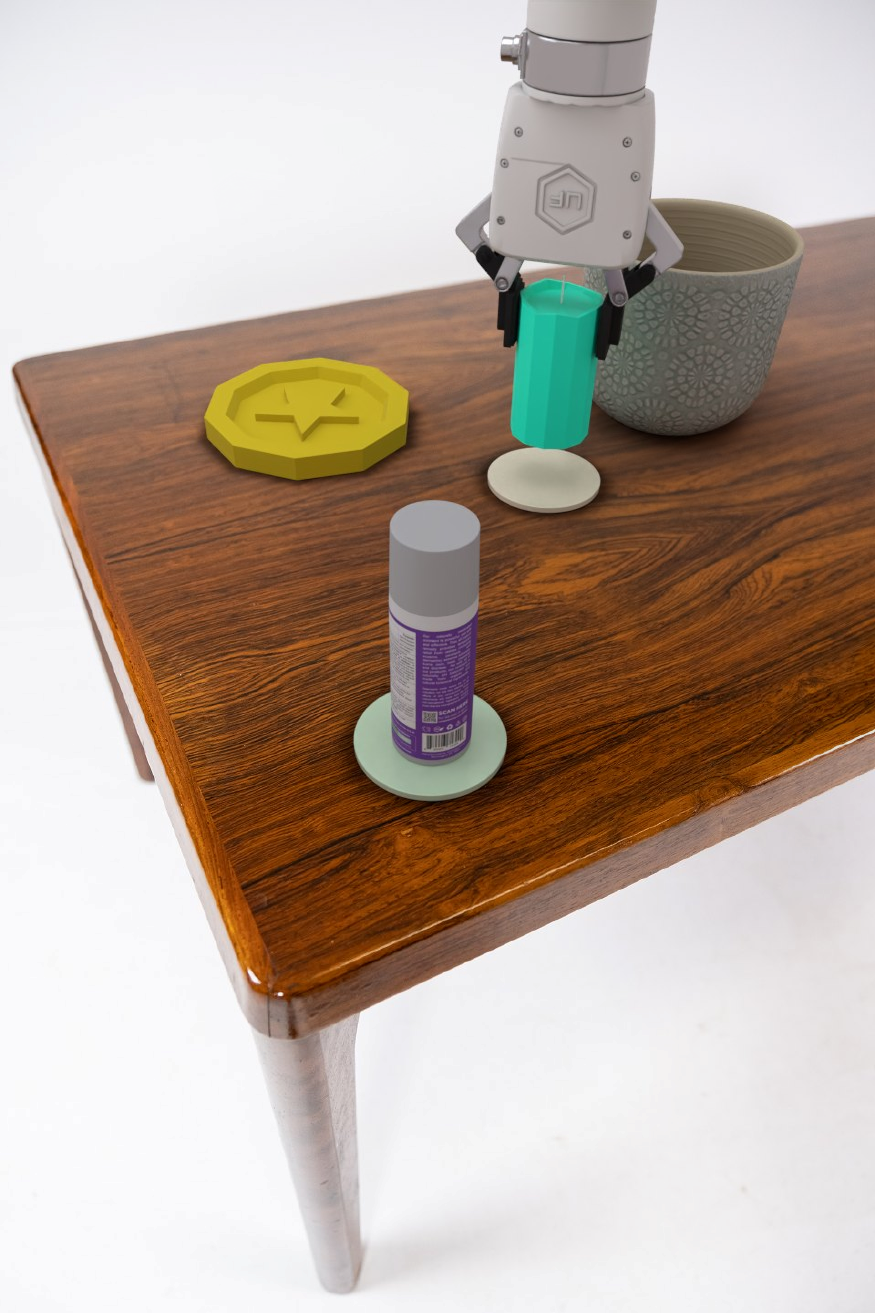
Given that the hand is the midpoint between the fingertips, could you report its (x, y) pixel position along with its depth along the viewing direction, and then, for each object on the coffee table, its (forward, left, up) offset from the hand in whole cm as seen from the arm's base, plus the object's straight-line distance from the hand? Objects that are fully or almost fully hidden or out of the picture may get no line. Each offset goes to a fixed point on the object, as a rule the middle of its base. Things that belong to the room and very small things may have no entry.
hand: (557, 343), depth 73 cm
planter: (-8, -15, -12) cm, 21 cm away
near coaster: (+1, +30, -12) cm, 32 cm away
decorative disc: (+21, -3, -12) cm, 24 cm away
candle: (0, 0, -7) cm, 7 cm away
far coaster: (0, 0, -12) cm, 12 cm away
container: (+1, +30, -11) cm, 32 cm away
